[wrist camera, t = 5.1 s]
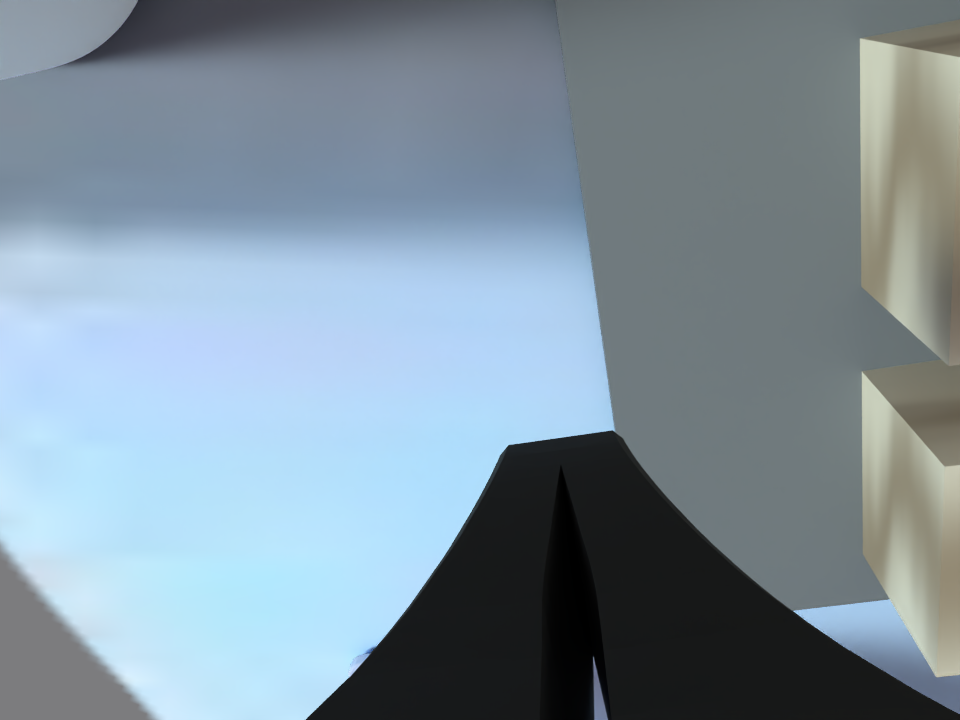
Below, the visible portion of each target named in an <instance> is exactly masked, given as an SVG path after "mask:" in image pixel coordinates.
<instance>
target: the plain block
mask: <svg viewBox="0 0 960 720" xmlns="http://www.w3.org/2000/svg"><path fill="white" fill-rule="evenodd" d="M860 144H861V287H862V288H863V289H864V290H865V291H867V292H868V293H869V294H870V295H871V296H872V297H873V298H874V299H875V300H877V301H878V302H879V303H880V304H881V305H882V306H883V307H884V308H885V309H886V310H888V311H889V312H890V313H891V314H892V315H893V316H894V317H895V318H896V319H897V320H899V321H900V322H901V323H902V324H903V325H904V326H905V327H906V328H907V329H908V330H910V331H911V332H912V333H913V334H914V335H915V336H916V337H917V338H918V339H919V340H921V341H922V342H923V343H924V344H925V345H926V346H927V347H928V348H929V349H930V350H932V351H933V352H934V353H935V354H936V355H937V356H938V357H939V358H940V359H942V360H943V361H944V362H945V363H946V364H947V365H948V366H954V365H960V20H955V21H950V22H944V23H939V24H934V25H928V26H923V27H918V28H913V29H907V30H902V31H897V32H891V33H886V34H881V35H875V36H870V37H865V38H860Z"/></svg>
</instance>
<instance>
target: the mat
mask: <svg viewBox="0 0 960 720" xmlns="http://www.w3.org/2000/svg"><path fill="white" fill-rule="evenodd" d="M555 5H556V12H557V19H558V27H559V34H560V41H561V48H562V55H563V62H564V69H565V77H566V84H567V91H568V98H569V105H570V112H571V119H572V127H573V134H574V141H575V148H576V155H577V162H578V170H579V177H580V184H581V191H582V198H583V205H584V212H585V220H586V227H587V234H588V241H589V248H590V255H591V263H592V270H593V277H594V284H595V291H596V298H597V305H598V313H599V320H600V327H601V334H602V341H603V348H604V356H605V363H606V370H607V377H608V384H609V391H610V398H611V406H612V413H613V420H614V427H615V433H617V434H618V435H619V436H621V437H622V438H623V439H624V441H625V443H626V444H627V446H628V448H629V449H630V451H631V452H632V454H633V455H634V457H635V458H636V460H637V461H638V462H639V464H640V465H641V466H642V468H643V469H644V470H645V471H646V473H647V474H648V475H649V476H650V478H651V479H652V480H653V481H654V482H655V484H656V485H657V486H658V487H659V488H660V490H661V491H662V492H663V493H664V494H665V495H666V496H667V498H668V499H669V500H670V501H671V502H672V503H673V504H674V505H675V506H676V507H677V508H678V509H679V510H680V511H681V512H682V513H683V515H684V516H685V517H686V518H687V519H688V520H689V521H690V522H691V523H692V524H693V525H694V526H695V527H696V528H697V529H698V530H699V531H700V532H701V533H702V534H703V535H704V536H705V537H706V538H707V539H708V540H709V541H710V542H711V543H712V544H713V545H714V546H715V547H717V548H718V549H719V550H720V551H721V552H722V553H723V554H724V555H725V556H726V557H728V558H729V559H730V560H731V561H732V562H733V563H734V564H735V565H736V566H738V567H739V568H740V569H741V570H742V571H743V572H744V573H746V574H747V575H748V576H749V577H750V578H751V579H753V580H754V581H755V582H756V583H757V584H759V585H760V586H761V587H762V588H764V589H765V590H766V591H767V592H769V593H770V594H771V595H772V596H773V597H775V598H776V599H777V600H779V601H780V602H781V603H783V604H784V605H785V606H787V607H788V608H789V609H791V610H792V611H793V610H802V609H810V608H819V607H828V606H836V605H845V604H853V603H862V602H870V601H879V600H887V599H889V597H888V595H887V594H886V592H885V590H884V589H883V587H882V585H881V584H880V582H879V580H878V579H877V577H876V575H875V574H874V572H873V570H872V569H871V567H870V565H869V564H868V562H867V560H866V559H865V557H864V555H863V493H862V371H867V370H874V369H881V368H887V367H894V366H901V365H908V364H915V363H922V362H928V361H935V360H942V359H940V358H939V357H938V356H937V355H936V354H935V353H934V352H933V351H932V350H930V349H929V348H928V347H927V346H926V345H925V344H924V343H923V342H922V341H921V340H919V339H918V338H917V337H916V336H915V335H914V334H913V333H912V332H911V331H910V330H908V329H907V328H906V327H905V326H904V325H903V324H902V323H901V322H900V321H899V320H897V319H896V318H895V317H894V316H893V315H892V314H891V313H890V312H889V311H888V310H886V309H885V308H884V307H883V306H882V305H881V304H880V303H879V302H878V301H877V300H875V299H874V298H873V297H872V296H871V295H870V294H869V293H868V292H867V291H865V290H864V289H863V288H862V287H861V144H860V38H865V37H870V36H875V35H881V34H886V33H891V32H897V31H902V30H907V29H913V28H918V27H923V26H928V25H934V24H939V23H944V22H950V21H955V20H960V0H555Z"/></svg>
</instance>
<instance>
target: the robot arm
mask: <svg viewBox="0 0 960 720" xmlns="http://www.w3.org/2000/svg"><path fill="white" fill-rule="evenodd" d="M348 675H349V678H348V679H347V680H346V681H345V682H344V683H343V684H342V685H341V686H340V687H339V688H338V689H337V690H336V691H335V692H334V693H333V694H332V695H331V696H330V697H328V698H327V699H326V700H325V701H324V702H323V703H322V704H321V705H320V706H319V707H318V708H317V709H316V710H315V711H314V712H313V713H312V714H311V715H310V716H309V717H308V718H307V719H306V720H960V714H958V713H956V712H954V711H952V710H950V709H948V708H946V707H944V706H943V705H941V704H939V703H937V702H935V701H934V700H932V699H930V698H928V697H926V696H925V695H923V694H921V693H919V692H917V691H916V690H914V689H912V688H911V687H909V686H907V685H906V684H904V683H902V682H901V681H899V680H897V679H896V678H894V677H892V676H891V675H889V674H887V673H886V672H884V671H882V670H881V669H879V668H877V667H876V666H874V665H873V664H871V663H869V662H868V661H866V660H864V659H863V658H861V657H859V656H858V655H856V654H854V653H853V652H851V651H849V650H848V649H846V648H844V647H843V646H841V645H840V644H838V643H837V642H836V641H834V640H833V639H831V638H830V637H828V636H827V635H825V634H824V633H822V632H821V631H820V630H818V629H817V628H815V627H814V626H812V625H811V624H809V623H808V622H807V621H805V620H804V619H803V618H801V617H800V616H799V615H797V614H796V613H795V612H793V611H792V610H791V609H789V608H788V607H787V606H785V605H784V604H783V603H781V602H780V601H779V600H777V599H776V598H775V597H773V596H772V595H771V594H770V593H769V592H767V591H766V590H765V589H764V588H762V587H761V586H760V585H759V584H757V583H756V582H755V581H754V580H753V579H751V578H750V577H749V576H748V575H747V574H746V573H744V572H743V571H742V570H741V569H740V568H739V567H738V566H736V565H735V564H734V563H733V562H732V561H731V560H730V559H729V558H728V557H726V556H725V555H724V554H723V553H722V552H721V551H720V550H719V549H718V548H717V547H715V546H714V545H713V544H712V543H711V542H710V541H709V540H708V539H707V538H706V537H705V536H704V535H703V534H702V533H701V532H700V531H699V530H698V529H697V528H696V527H695V526H694V525H693V524H692V523H691V522H690V521H689V520H688V519H687V518H686V517H685V516H684V515H683V513H682V512H681V511H680V510H679V509H678V508H677V507H676V506H675V505H674V504H673V503H672V502H671V501H670V500H669V499H668V498H667V496H666V495H665V494H664V493H663V492H662V491H661V490H660V488H659V487H658V486H657V485H656V484H655V482H654V481H653V480H652V479H651V478H650V476H649V475H648V474H647V473H646V471H645V470H644V469H643V468H642V466H641V465H640V464H639V462H638V461H637V460H636V458H635V457H634V455H633V454H632V452H631V451H630V449H629V448H628V446H627V444H626V443H625V441H624V439H623V438H622V437H621V436H619V435H618V434H617V433H615V432H614V431H606V432H599V433H592V434H585V435H578V436H571V437H564V438H557V439H550V440H542V441H535V442H528V443H521V444H514V445H508V447H507V448H506V449H505V450H504V451H503V453H502V454H501V455H500V457H499V460H498V462H497V464H496V466H495V468H494V470H493V472H492V474H491V476H490V478H489V480H488V482H487V484H486V486H485V488H484V490H483V492H482V494H481V496H480V497H479V499H478V501H477V503H476V505H475V507H474V508H473V510H472V512H471V513H470V515H469V517H468V518H467V520H466V522H465V523H464V525H463V527H462V528H461V530H460V532H459V533H458V535H457V537H456V538H455V540H454V542H453V543H452V545H451V547H450V548H449V550H448V551H447V553H446V554H445V556H444V557H443V559H442V560H441V562H440V563H439V565H438V566H437V568H436V569H435V570H434V572H433V573H432V575H431V576H430V577H429V579H428V580H427V582H426V583H425V585H424V586H423V587H422V589H421V590H420V592H419V593H418V595H417V596H416V597H415V599H414V600H413V602H412V603H411V604H410V606H409V607H408V608H407V610H406V611H405V612H404V613H403V615H402V616H401V617H400V619H399V620H398V621H397V622H396V624H395V625H394V626H393V627H392V629H391V630H390V631H389V632H388V634H387V635H386V636H385V637H384V638H383V640H382V641H381V642H380V643H379V644H378V645H377V647H376V648H375V649H374V650H373V651H372V652H371V653H369V654H363V655H359V656H357V657H356V658H354V659H353V660H352V662H351V664H350V668H349V672H348Z"/></svg>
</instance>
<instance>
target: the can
mask: <svg viewBox="0 0 960 720" xmlns="http://www.w3.org/2000/svg"><path fill="white" fill-rule="evenodd" d="M137 2H138V0H0V80H3V79H8V78H13V77H17V76H21V75H26V74H30V73H35V72H39V71H43V70H47V69H50V68H54V67H58V66H61V65H64V64H67V63H69V62H72V61H74V60H76V59H79V58H81V57H83V56H85V55H86V54H88V53H90V52H92V51H93V50H95V49H96V48H98V47H99V46H100V45H102V44H103V43H104V42H105V41H107V40H108V39H109V38H110V37H111V36H112V35H113V34H114V33H115V32H116V31H117V30H118V29H119V28H120V27H121V26H122V24H123V23H124V22H125V21H126V19H127V18H128V16H129V15H130V14H131V12H132V10H133V9H134V7H135V5H136V4H137Z"/></svg>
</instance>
